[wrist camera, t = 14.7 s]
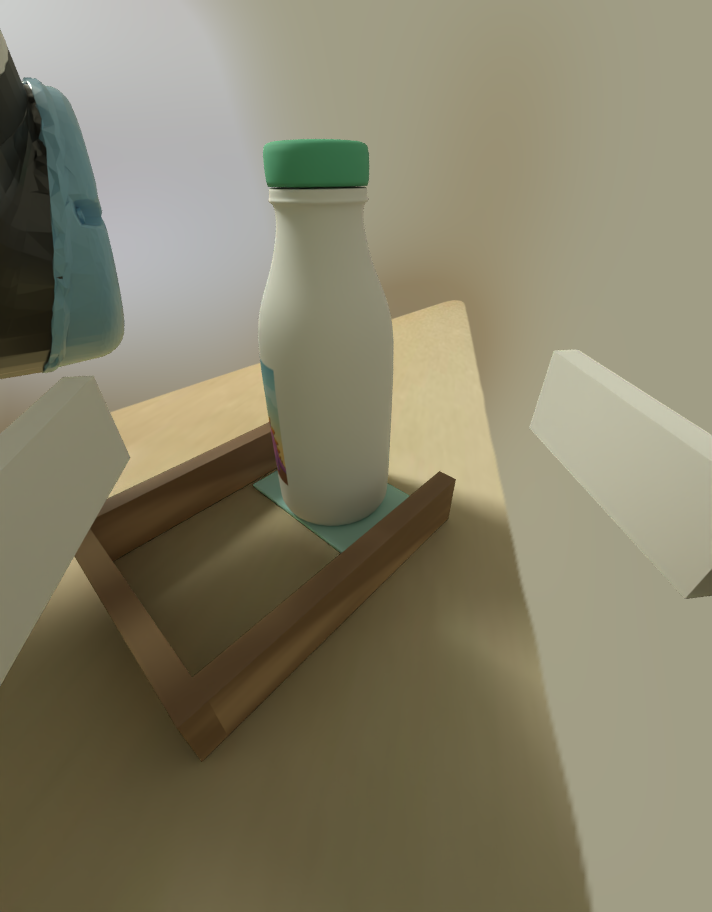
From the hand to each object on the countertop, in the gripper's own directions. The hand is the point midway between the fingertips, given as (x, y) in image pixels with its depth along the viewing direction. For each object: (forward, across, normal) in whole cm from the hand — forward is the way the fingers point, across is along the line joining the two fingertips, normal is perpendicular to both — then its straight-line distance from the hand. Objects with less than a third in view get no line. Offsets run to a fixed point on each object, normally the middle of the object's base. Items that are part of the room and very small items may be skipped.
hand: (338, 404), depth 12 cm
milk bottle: (+11, 0, -14) cm, 17 cm away
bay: (+7, -3, -14) cm, 16 cm away
